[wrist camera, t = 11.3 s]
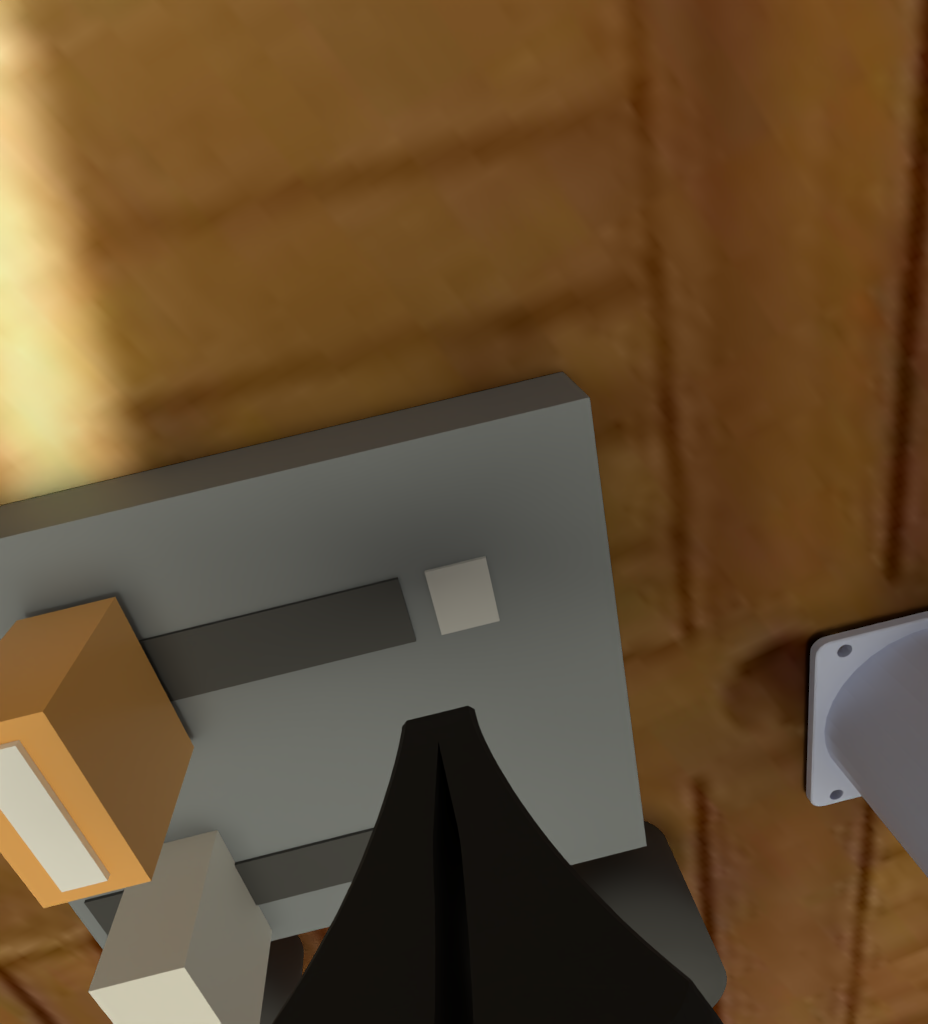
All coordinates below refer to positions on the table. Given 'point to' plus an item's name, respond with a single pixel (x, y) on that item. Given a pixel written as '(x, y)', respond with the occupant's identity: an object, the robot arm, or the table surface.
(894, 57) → the table surface
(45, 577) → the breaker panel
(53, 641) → the breaker paddle
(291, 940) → the squat charcoal cylinder
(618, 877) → the dark grey cylinder
